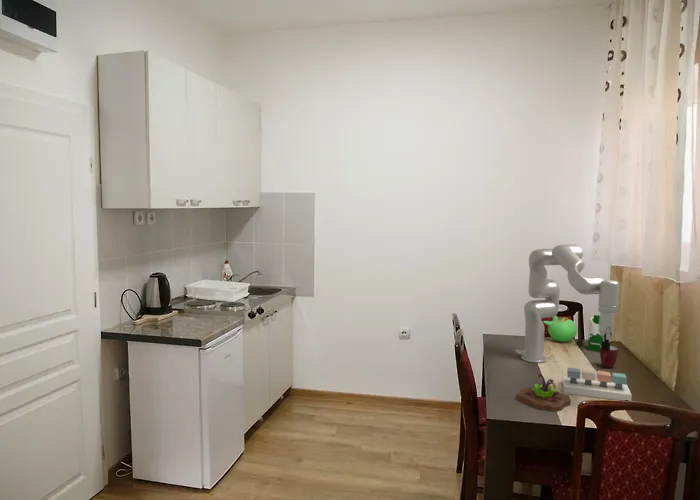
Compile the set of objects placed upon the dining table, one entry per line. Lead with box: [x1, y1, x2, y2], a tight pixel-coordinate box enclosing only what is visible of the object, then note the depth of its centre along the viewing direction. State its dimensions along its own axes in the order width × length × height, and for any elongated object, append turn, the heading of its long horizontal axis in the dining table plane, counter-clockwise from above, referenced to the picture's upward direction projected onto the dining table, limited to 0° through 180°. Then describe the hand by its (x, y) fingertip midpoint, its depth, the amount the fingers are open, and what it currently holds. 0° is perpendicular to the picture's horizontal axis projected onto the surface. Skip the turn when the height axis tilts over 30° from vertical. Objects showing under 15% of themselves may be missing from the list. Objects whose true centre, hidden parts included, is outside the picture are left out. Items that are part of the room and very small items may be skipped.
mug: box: [599, 345, 619, 369], centre depth 251 cm, size 10×8×10 cm
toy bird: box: [542, 315, 578, 342], centre depth 299 cm, size 18×17×15 cm
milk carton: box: [587, 314, 602, 353], centre depth 281 cm, size 9×9×20 cm
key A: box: [566, 366, 581, 384], centre depth 222 cm, size 5×5×6 cm
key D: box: [611, 372, 628, 389], centre depth 215 cm, size 5×5×6 cm
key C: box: [596, 370, 612, 388], centre depth 217 cm, size 5×5×6 cm
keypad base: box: [562, 375, 633, 402], centre depth 219 cm, size 26×14×3 cm, turn 69°
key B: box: [581, 368, 597, 385], centre depth 220 cm, size 5×5×6 cm
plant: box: [515, 373, 572, 412], centre depth 208 cm, size 20×20×11 cm
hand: (605, 350), depth 216 cm, fingers closed
